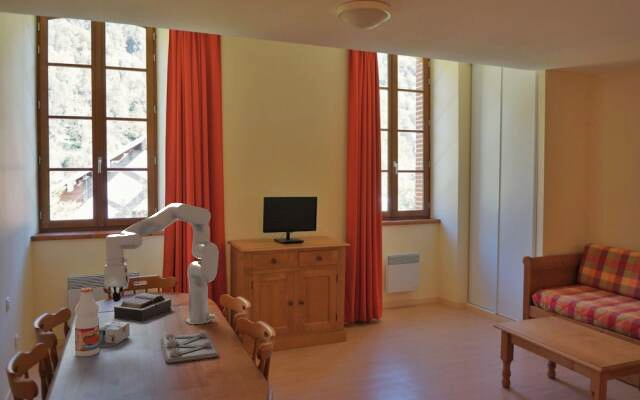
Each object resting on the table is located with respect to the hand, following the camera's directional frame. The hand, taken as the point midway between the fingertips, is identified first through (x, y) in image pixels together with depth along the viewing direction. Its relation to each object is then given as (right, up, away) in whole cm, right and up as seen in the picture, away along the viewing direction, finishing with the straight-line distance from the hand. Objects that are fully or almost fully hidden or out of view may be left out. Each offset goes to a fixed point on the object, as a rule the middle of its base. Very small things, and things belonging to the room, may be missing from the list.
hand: (116, 301), depth 222 cm
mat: (-5, -19, +1) cm, 19 cm away
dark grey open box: (-4, -17, +45) cm, 48 cm away
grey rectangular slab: (+35, -20, -9) cm, 41 cm away
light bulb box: (+3, -15, 0) cm, 15 cm away
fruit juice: (-6, -20, -15) cm, 25 cm away
